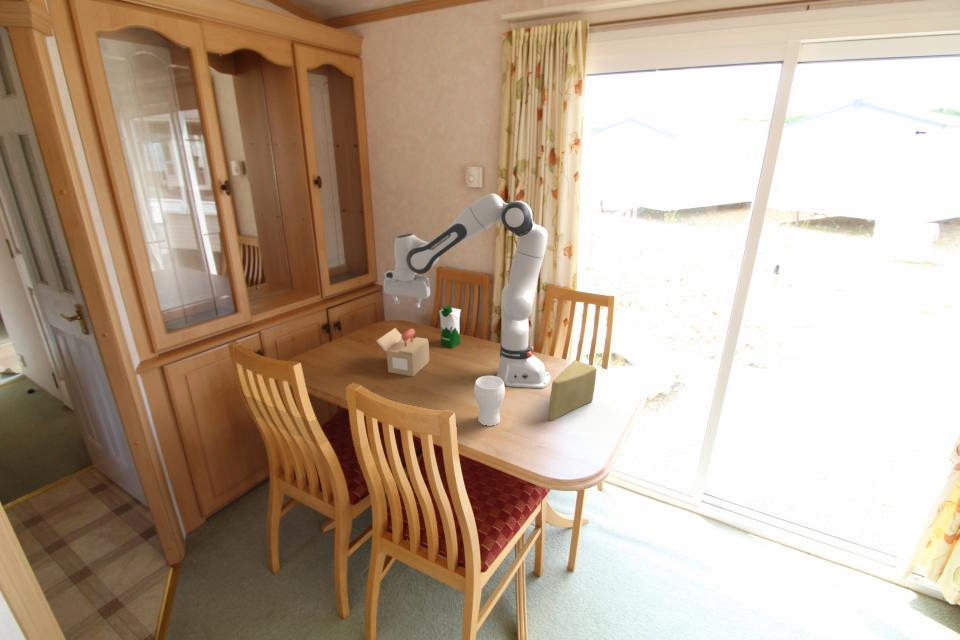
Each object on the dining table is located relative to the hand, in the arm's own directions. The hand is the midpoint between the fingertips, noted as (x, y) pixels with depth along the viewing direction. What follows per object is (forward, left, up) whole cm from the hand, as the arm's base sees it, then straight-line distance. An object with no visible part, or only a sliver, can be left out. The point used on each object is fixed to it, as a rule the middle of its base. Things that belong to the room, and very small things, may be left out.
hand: (407, 305), depth 182 cm
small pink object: (-2, 0, -18) cm, 18 cm away
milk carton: (-8, -29, -28) cm, 41 cm away
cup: (-46, +29, -28) cm, 61 cm away
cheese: (-70, +12, -29) cm, 77 cm away
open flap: (+9, 0, -16) cm, 18 cm away
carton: (0, 0, -28) cm, 28 cm away
